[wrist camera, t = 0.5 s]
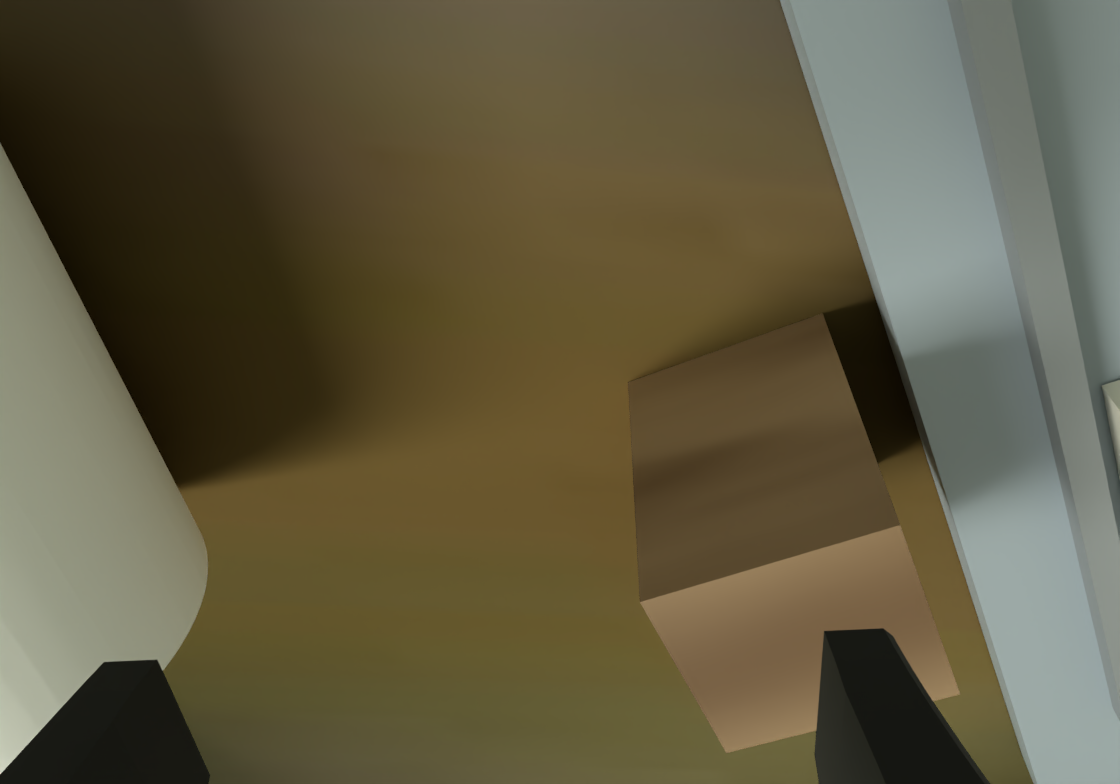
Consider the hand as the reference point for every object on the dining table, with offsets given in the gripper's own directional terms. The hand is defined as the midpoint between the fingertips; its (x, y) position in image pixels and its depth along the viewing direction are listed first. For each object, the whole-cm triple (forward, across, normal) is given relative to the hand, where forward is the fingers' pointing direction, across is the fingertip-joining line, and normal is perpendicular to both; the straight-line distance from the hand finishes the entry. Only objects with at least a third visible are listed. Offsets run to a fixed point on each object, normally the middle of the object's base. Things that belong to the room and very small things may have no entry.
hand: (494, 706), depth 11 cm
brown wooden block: (+10, -4, +4) cm, 11 cm away
